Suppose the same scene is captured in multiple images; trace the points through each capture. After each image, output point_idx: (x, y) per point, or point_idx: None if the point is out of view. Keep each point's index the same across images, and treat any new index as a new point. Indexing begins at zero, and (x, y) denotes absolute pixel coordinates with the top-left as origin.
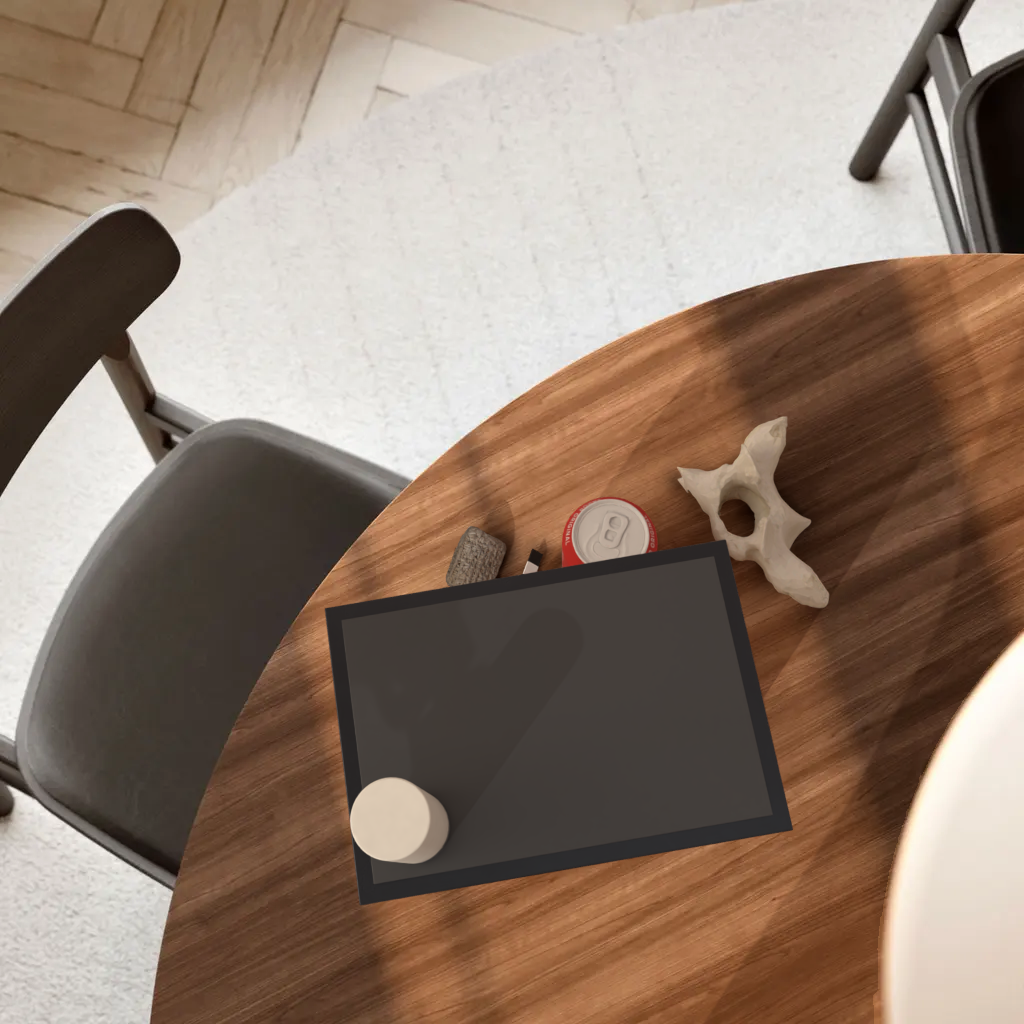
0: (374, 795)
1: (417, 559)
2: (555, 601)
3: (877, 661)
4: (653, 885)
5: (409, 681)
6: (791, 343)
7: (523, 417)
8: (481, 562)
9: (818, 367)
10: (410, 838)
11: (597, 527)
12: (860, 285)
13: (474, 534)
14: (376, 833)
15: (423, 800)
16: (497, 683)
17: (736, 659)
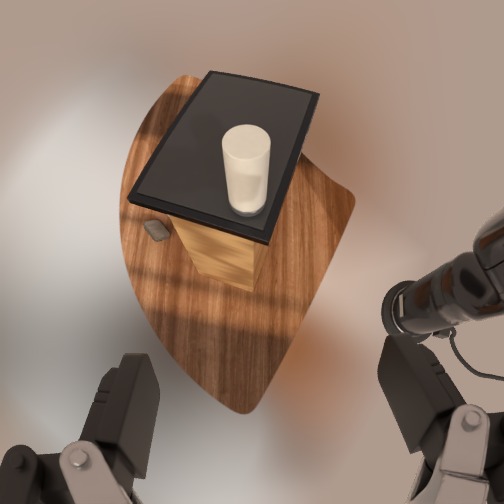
0: (229, 142)
1: (142, 251)
2: (190, 116)
3: None
4: (295, 232)
5: (181, 175)
6: (161, 119)
7: (123, 195)
8: (157, 227)
9: (172, 116)
10: (262, 137)
11: None
12: (160, 100)
13: (146, 223)
14: (249, 149)
15: (246, 125)
16: (207, 145)
17: (252, 80)
